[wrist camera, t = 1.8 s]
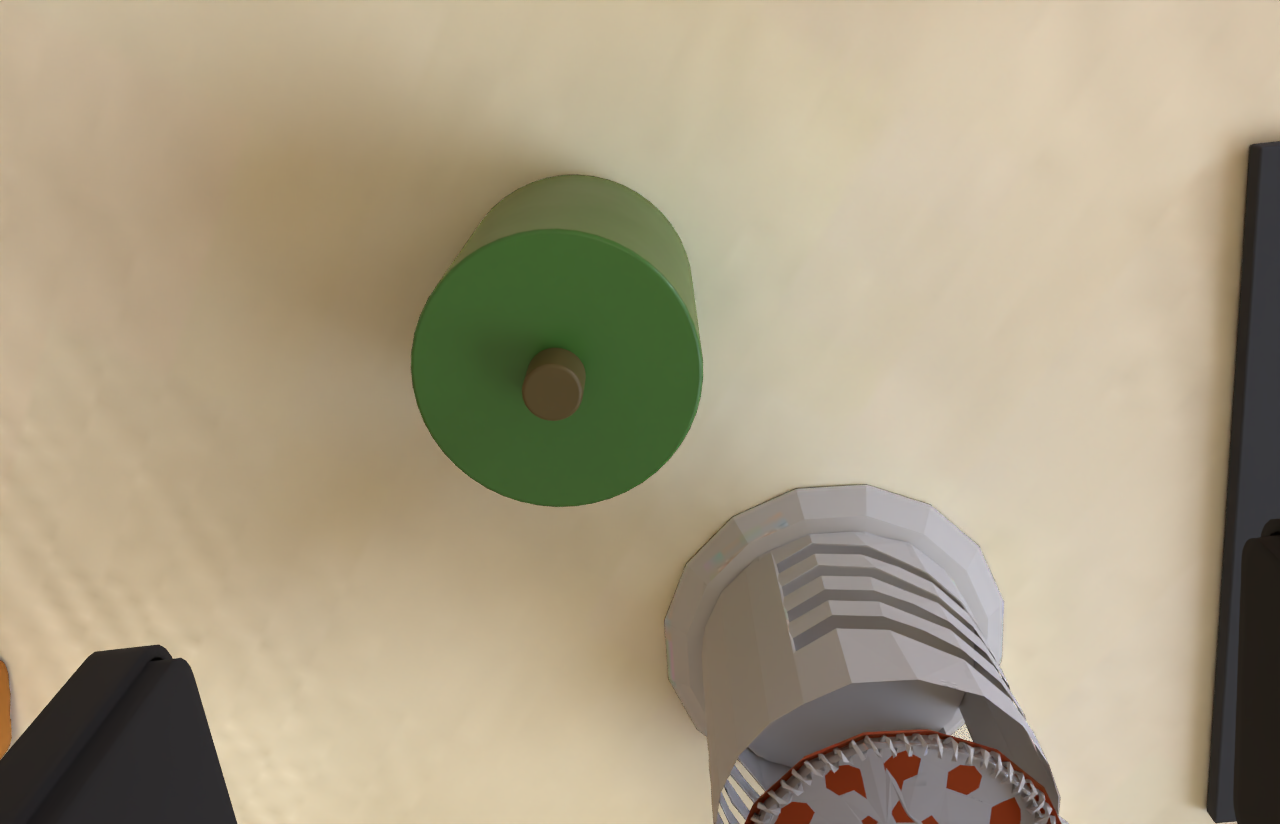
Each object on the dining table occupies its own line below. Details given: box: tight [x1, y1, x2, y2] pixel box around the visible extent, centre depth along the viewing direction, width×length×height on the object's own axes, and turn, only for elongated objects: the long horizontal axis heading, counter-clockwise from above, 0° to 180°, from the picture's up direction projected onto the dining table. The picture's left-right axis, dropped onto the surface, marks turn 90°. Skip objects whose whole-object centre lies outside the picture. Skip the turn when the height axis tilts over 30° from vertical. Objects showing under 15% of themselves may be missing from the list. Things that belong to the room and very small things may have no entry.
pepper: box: [411, 175, 703, 507], centre depth 27 cm, size 6×6×8 cm
